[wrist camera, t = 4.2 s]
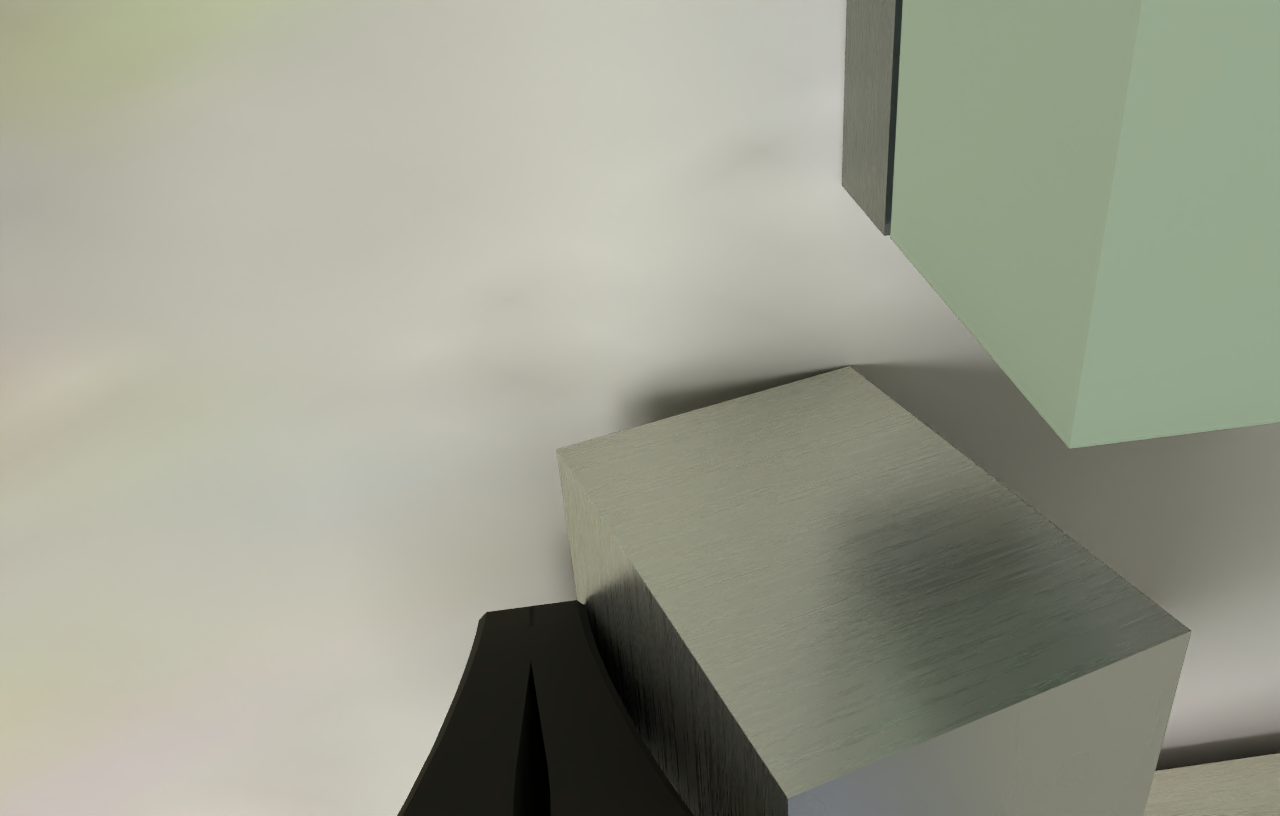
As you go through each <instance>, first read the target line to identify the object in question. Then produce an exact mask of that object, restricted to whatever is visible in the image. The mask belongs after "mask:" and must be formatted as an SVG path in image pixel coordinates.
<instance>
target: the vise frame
mask: <svg viewBox="0 0 1280 816" xmlns="http://www.w3.org/2000/svg"><path fill="white" fill-rule="evenodd" d="M902 6H903V0H847V14H846V51H845V88H844V126H843V163H842V186H843V187H844V188H845V190H846V191H847V192H848V193H849V194H850V196H851V197H852V198H853V199H854V200H855V202H856V203H857V204H858V205H859V206H860V208H861V209H862V210H863V211H864V212H865V213H866V215H867V216H868V217H869V218H870V219H871V221H872V222H873V223H874V224H875V225H876V227H877V228H878V229H879V230H880V231H881V232H882V234H883V235H884V236H885V235H891V216H892V197H893V178H894V159H895V140H896V121H897V102H898V82H899V63H900V44H901V25H902ZM1144 816H1280V753H1277V754H1270V755H1263V756H1256V757H1249V758H1242V759H1235V760H1228V761H1222V762H1215V763H1208V764H1201V765H1194V766H1187V767H1180V768H1173V769H1166V770H1159V771H1155V774H1154V778H1153V781H1152V785H1151V789H1150V793H1149V797H1148V801H1147V805H1146V809H1145V812H1144Z"/></svg>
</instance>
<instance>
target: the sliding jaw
mask: <svg viewBox="0 0 1280 816" xmlns="http://www.w3.org/2000/svg"><path fill="white" fill-rule="evenodd" d="M890 238H891V240H892V241H893V242H894V243H895V244H896V245H897V247H898V248H899V249H900V250H901V251H902V252H903V254H904V255H905V256H906V257H907V258H908V260H909V261H910V262H911V263H912V264H913V265H914V267H915V268H916V269H917V270H918V271H919V272H920V274H921V275H922V276H923V277H924V278H925V280H926V281H927V282H928V283H929V284H930V285H931V287H932V288H933V289H934V290H935V291H936V293H937V294H938V295H939V296H940V297H941V298H942V300H943V301H944V302H945V303H946V304H947V305H948V307H949V308H950V309H951V310H952V311H953V313H954V314H955V315H956V316H957V317H958V318H959V320H960V321H961V322H962V323H963V324H964V325H965V327H966V328H967V329H968V330H969V331H970V333H971V334H972V335H973V336H974V337H975V338H976V340H977V341H978V342H979V343H980V344H981V345H982V347H983V348H984V349H985V350H986V351H987V353H988V354H989V355H990V356H991V357H992V358H993V360H994V361H995V362H996V363H997V364H998V366H999V367H1000V368H1001V369H1002V370H1003V371H1004V373H1005V374H1006V375H1007V376H1008V377H1009V378H1010V380H1011V381H1012V382H1013V383H1014V384H1015V386H1016V387H1017V388H1018V389H1019V390H1020V391H1021V393H1022V394H1023V395H1024V396H1025V397H1026V398H1027V400H1028V401H1029V402H1030V403H1031V404H1032V406H1033V407H1034V408H1035V409H1036V410H1037V411H1038V413H1039V414H1040V415H1041V416H1042V417H1043V418H1044V420H1045V421H1046V422H1047V423H1048V424H1049V426H1050V427H1051V428H1052V429H1053V430H1054V431H1055V433H1056V434H1057V435H1058V436H1059V437H1060V439H1061V440H1062V441H1063V442H1064V443H1065V444H1066V446H1067V447H1068V448H1069V449H1071V448H1079V447H1087V446H1095V445H1103V444H1111V443H1119V442H1127V441H1135V440H1143V439H1151V438H1159V437H1167V436H1175V435H1183V434H1191V433H1199V432H1207V431H1215V430H1223V429H1231V428H1239V427H1247V426H1255V425H1263V424H1271V423H1279V422H1280V0H903V6H902V25H901V44H900V63H899V82H898V102H897V121H896V140H895V159H894V178H893V197H892V216H891V235H890Z"/></svg>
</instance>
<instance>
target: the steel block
mask: <svg viewBox="0 0 1280 816" xmlns="http://www.w3.org/2000/svg"><path fill="white" fill-rule="evenodd" d="M556 450H557V457H558V464H559V472H560V479H561V486H562V494H563V501H564V508H565V515H566V523H567V530H568V537H569V545H570V552H571V559H572V566H573V574H574V581H575V588H576V596H577V601H579V602H580V603H582V604H584V606H585V607H586V609H587V615H588V620H589V623H590V627H591V631H592V634H593V637H594V640H595V643H596V646H597V648H598V651H599V653H600V656H601V658H602V661H603V663H604V665H605V668H606V670H607V672H608V675H609V677H610V679H611V681H612V683H613V685H614V687H615V689H616V691H617V693H618V695H619V697H620V699H621V701H622V702H623V704H624V706H625V708H626V710H627V712H628V714H629V716H630V718H631V719H632V721H633V723H634V725H635V727H636V728H637V730H638V732H639V734H640V735H641V737H642V739H643V740H644V742H645V744H646V745H647V747H648V748H649V750H650V752H651V753H652V755H653V756H654V758H655V760H656V761H657V763H658V764H659V766H660V768H661V769H662V771H663V772H664V774H665V775H666V777H667V778H668V780H669V781H670V783H671V784H672V786H673V787H674V788H675V790H676V791H677V793H678V794H679V796H680V797H681V798H682V800H683V801H684V802H685V804H686V805H687V806H688V808H689V809H690V811H691V812H692V813H693V815H694V816H1144V812H1145V809H1146V805H1147V801H1148V797H1149V793H1150V789H1151V785H1152V781H1153V778H1154V774H1155V770H1156V766H1157V762H1158V758H1159V754H1160V750H1161V747H1162V743H1163V739H1164V735H1165V731H1166V727H1167V723H1168V719H1169V716H1170V712H1171V708H1172V704H1173V700H1174V696H1175V692H1176V688H1177V684H1178V681H1179V677H1180V673H1181V669H1182V665H1183V661H1184V657H1185V653H1186V650H1187V646H1188V642H1189V638H1190V634H1191V630H1189V629H1188V628H1187V627H1186V626H1184V625H1183V624H1182V623H1180V622H1179V621H1178V620H1176V619H1175V618H1174V617H1173V616H1171V615H1170V614H1169V613H1167V612H1166V611H1165V610H1164V609H1162V608H1161V607H1160V606H1158V605H1157V604H1156V603H1155V602H1153V601H1152V600H1151V599H1149V598H1148V597H1147V596H1146V595H1144V594H1143V593H1142V592H1140V591H1139V590H1138V589H1136V588H1135V587H1134V586H1133V585H1131V584H1130V583H1129V582H1127V581H1126V580H1125V579H1124V578H1122V577H1121V576H1120V575H1118V574H1117V573H1116V572H1115V571H1113V570H1112V569H1111V568H1109V567H1108V566H1107V565H1106V564H1104V563H1103V562H1102V561H1100V560H1099V559H1098V558H1096V557H1095V556H1094V555H1093V554H1091V553H1090V552H1089V551H1087V550H1086V549H1085V548H1084V547H1082V546H1081V545H1080V544H1078V543H1077V542H1076V541H1075V540H1073V539H1072V538H1071V537H1069V536H1068V535H1067V534H1065V533H1064V532H1063V531H1062V530H1060V529H1059V528H1058V527H1056V526H1055V525H1054V524H1053V523H1051V522H1050V521H1049V520H1047V519H1046V518H1045V517H1044V516H1042V515H1041V514H1040V513H1038V512H1037V511H1036V510H1035V509H1033V508H1032V507H1031V506H1029V505H1028V504H1027V503H1025V502H1024V501H1023V500H1022V499H1020V498H1019V497H1018V496H1016V495H1015V494H1014V493H1013V492H1011V491H1010V490H1009V489H1007V488H1006V487H1005V486H1004V485H1002V484H1001V483H1000V482H998V481H997V480H996V479H995V478H993V477H992V476H991V475H989V474H988V473H987V472H985V471H984V470H983V469H982V468H980V467H979V466H978V465H976V464H975V463H974V462H973V461H971V460H970V459H969V458H967V457H966V456H965V455H964V454H962V453H961V452H960V451H958V450H957V449H956V448H955V447H953V446H952V445H951V444H949V443H948V442H947V441H945V440H944V439H943V438H942V437H940V436H939V435H938V434H936V433H935V432H934V431H933V430H931V429H930V428H929V427H927V426H926V425H925V424H924V423H922V422H921V421H920V420H918V419H917V418H916V417H914V416H913V415H912V414H911V413H909V412H908V411H907V410H905V409H904V408H903V407H902V406H900V405H899V404H898V403H896V402H895V401H894V400H893V399H891V398H890V397H889V396H887V395H886V394H885V393H884V392H882V391H881V390H880V389H878V388H877V387H876V386H874V385H873V384H872V383H871V382H869V381H868V380H867V379H865V378H864V377H863V376H862V375H860V374H859V373H858V372H856V371H855V370H854V369H853V368H851V367H850V366H848V367H844V368H841V369H837V370H834V371H830V372H827V373H823V374H820V375H816V376H813V377H809V378H806V379H802V380H799V381H795V382H792V383H788V384H785V385H781V386H778V387H774V388H771V389H767V390H764V391H760V392H757V393H753V394H749V395H746V396H742V397H739V398H735V399H732V400H728V401H725V402H721V403H718V404H714V405H711V406H707V407H704V408H700V409H697V410H693V411H690V412H686V413H683V414H679V415H676V416H672V417H669V418H665V419H662V420H658V421H655V422H651V423H648V424H644V425H641V426H637V427H634V428H630V429H627V430H623V431H620V432H616V433H612V434H609V435H605V436H602V437H598V438H595V439H591V440H588V441H584V442H581V443H577V444H574V445H570V446H567V447H563V448H560V449H556Z"/></svg>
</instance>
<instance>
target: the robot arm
mask: <svg viewBox="0 0 1280 816" xmlns="http://www.w3.org/2000/svg"><path fill="white" fill-rule="evenodd" d="M397 816H694V815H693V813H692V812H691V811H690V809H689V808H688V806H687V805H686V804H685V802H684V801H683V800H682V798H681V797H680V796H679V794H678V793H677V791H676V790H675V788H674V787H673V786H672V784H671V783H670V781H669V780H668V778H667V777H666V775H665V774H664V772H663V771H662V769H661V768H660V766H659V764H658V763H657V761H656V760H655V758H654V756H653V755H652V753H651V752H650V750H649V748H648V747H647V745H646V744H645V742H644V740H643V739H642V737H641V735H640V734H639V732H638V730H637V728H636V727H635V725H634V723H633V721H632V719H631V718H630V716H629V714H628V712H627V710H626V708H625V706H624V704H623V702H622V701H621V699H620V697H619V695H618V693H617V691H616V689H615V687H614V685H613V683H612V681H611V679H610V677H609V675H608V672H607V670H606V668H605V665H604V663H603V661H602V658H601V656H600V653H599V651H598V648H597V646H596V643H595V640H594V637H593V634H592V631H591V627H590V623H589V620H588V615H587V609H586V607H585V606H584V604H582V603H580V602H579V601H577V600H575V601H567V602H560V603H552V604H545V605H537V606H530V607H522V608H515V609H507V610H500V611H492V612H486V614H485V615H484V616H483V617H482V618H481V619H480V620H479V623H478V627H477V632H476V636H475V639H474V643H473V646H472V649H471V652H470V656H469V659H468V662H467V664H466V667H465V670H464V673H463V676H462V678H461V681H460V684H459V686H458V689H457V692H456V694H455V697H454V699H453V701H452V704H451V706H450V708H449V711H448V713H447V715H446V718H445V720H444V722H443V725H442V727H441V729H440V732H439V734H438V736H437V739H436V741H435V743H434V745H433V747H432V750H431V752H430V754H429V756H428V758H427V760H426V762H425V763H424V765H423V767H422V769H421V771H420V773H419V775H418V777H417V779H416V781H415V783H414V785H413V787H412V789H411V791H410V793H409V795H408V797H407V799H406V801H405V803H404V805H403V806H402V808H401V810H400V812H399V814H398V815H397Z"/></svg>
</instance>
